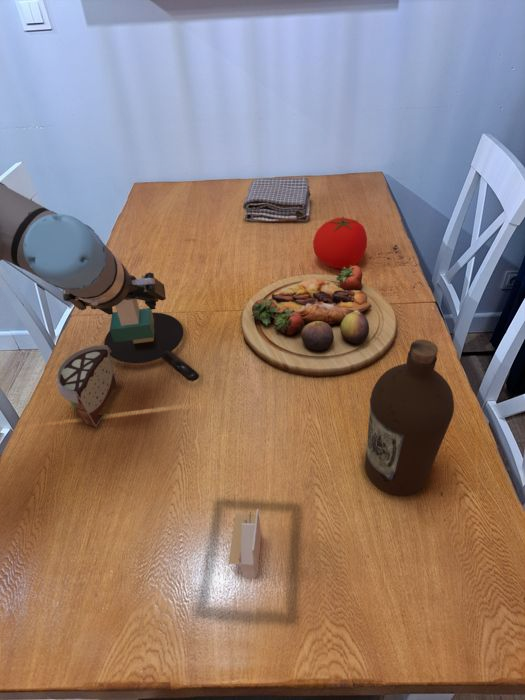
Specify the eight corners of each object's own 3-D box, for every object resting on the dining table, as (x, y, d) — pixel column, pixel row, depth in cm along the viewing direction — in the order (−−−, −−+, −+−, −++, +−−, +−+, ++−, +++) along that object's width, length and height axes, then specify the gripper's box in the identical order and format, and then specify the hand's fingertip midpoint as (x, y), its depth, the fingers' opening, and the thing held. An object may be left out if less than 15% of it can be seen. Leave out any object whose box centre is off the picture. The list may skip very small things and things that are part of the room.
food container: (92, 379, 93) (76, 339, 86) (122, 383, 92) (108, 343, 85) (59, 430, 84) (39, 389, 77) (92, 435, 83) (74, 394, 76)
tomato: (374, 258, 121) (379, 217, 113) (345, 282, 113) (349, 240, 106) (333, 244, 127) (336, 204, 119) (303, 266, 119) (304, 225, 112)
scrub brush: (153, 337, 87) (140, 286, 80) (113, 342, 87) (97, 291, 80) (154, 320, 91) (141, 270, 84) (116, 325, 91) (100, 274, 83)
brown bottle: (402, 433, 80) (431, 311, 64) (446, 483, 73) (491, 360, 56) (347, 457, 77) (361, 335, 60) (387, 512, 70) (416, 390, 53)
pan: (91, 342, 101) (88, 333, 100) (156, 308, 109) (154, 300, 107) (161, 408, 87) (159, 399, 85) (230, 364, 94) (229, 354, 93)
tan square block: (153, 341, 98) (151, 333, 97) (133, 343, 98) (131, 336, 97) (154, 328, 101) (152, 321, 100) (134, 331, 101) (132, 323, 100)
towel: (251, 200, 148) (249, 174, 143) (311, 201, 146) (312, 175, 141) (243, 223, 137) (241, 197, 132) (308, 225, 135) (309, 198, 130)
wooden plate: (325, 266, 119) (326, 236, 113) (429, 331, 99) (437, 298, 93) (212, 317, 106) (208, 285, 100) (307, 404, 86) (308, 370, 80)
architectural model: (230, 577, 64) (225, 550, 59) (237, 527, 69) (233, 498, 64) (256, 579, 64) (253, 551, 59) (261, 529, 69) (259, 500, 64)
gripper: (25, 313, 65) (78, 331, 88) (173, 295, 67) (188, 318, 90) (19, 258, 66) (73, 290, 89) (167, 242, 67) (183, 278, 90)
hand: (131, 304), depth 89 cm, fingers closed on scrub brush, 7 cm apart
